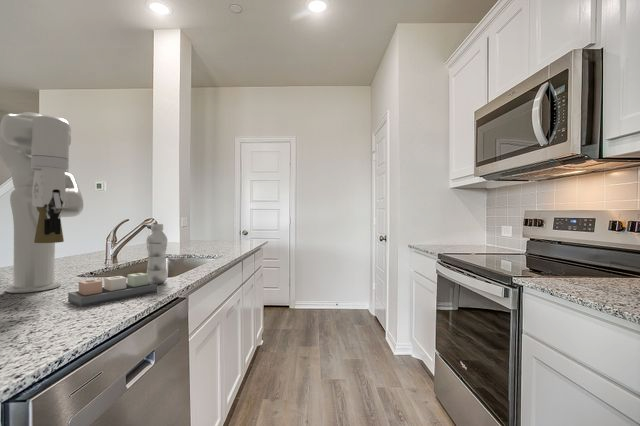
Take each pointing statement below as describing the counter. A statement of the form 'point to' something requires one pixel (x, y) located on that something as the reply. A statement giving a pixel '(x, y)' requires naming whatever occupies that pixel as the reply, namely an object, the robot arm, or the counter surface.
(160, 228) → the plastic bottle
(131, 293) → the base
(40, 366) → the counter surface
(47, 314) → the counter surface
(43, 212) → the olive rounded piece
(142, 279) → the key sage
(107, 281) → the key cream
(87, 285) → the peach square block
